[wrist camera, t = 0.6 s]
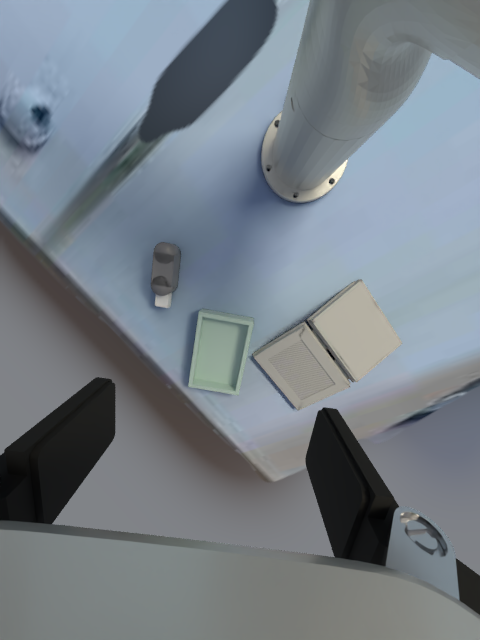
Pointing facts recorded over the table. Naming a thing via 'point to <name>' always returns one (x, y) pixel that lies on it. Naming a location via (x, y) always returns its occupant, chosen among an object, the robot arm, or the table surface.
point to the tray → (220, 351)
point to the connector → (165, 272)
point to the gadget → (330, 347)
